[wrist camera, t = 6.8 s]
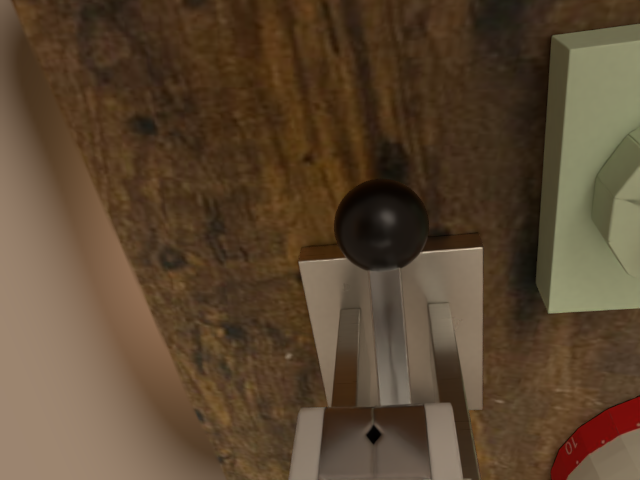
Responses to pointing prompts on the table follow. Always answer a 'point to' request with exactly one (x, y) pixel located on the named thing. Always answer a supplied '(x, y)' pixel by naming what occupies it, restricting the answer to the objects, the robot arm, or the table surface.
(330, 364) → the switch bracket
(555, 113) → the control block
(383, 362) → the switch lever
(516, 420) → the table surface
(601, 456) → the kitchen timer
